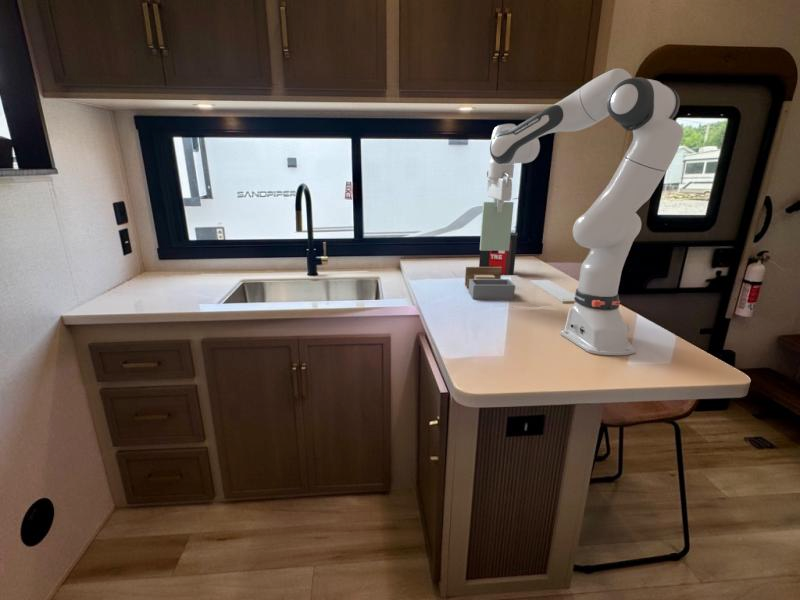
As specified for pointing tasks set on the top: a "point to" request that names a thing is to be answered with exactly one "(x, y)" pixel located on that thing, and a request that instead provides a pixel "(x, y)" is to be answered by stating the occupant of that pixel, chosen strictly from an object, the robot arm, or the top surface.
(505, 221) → the sheet
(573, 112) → the robot arm
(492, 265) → the cleaning product box
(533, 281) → the baseboard molding
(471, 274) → the rack
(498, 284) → the bin
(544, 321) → the top surface
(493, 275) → the offcut upper
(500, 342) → the top surface
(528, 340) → the top surface
